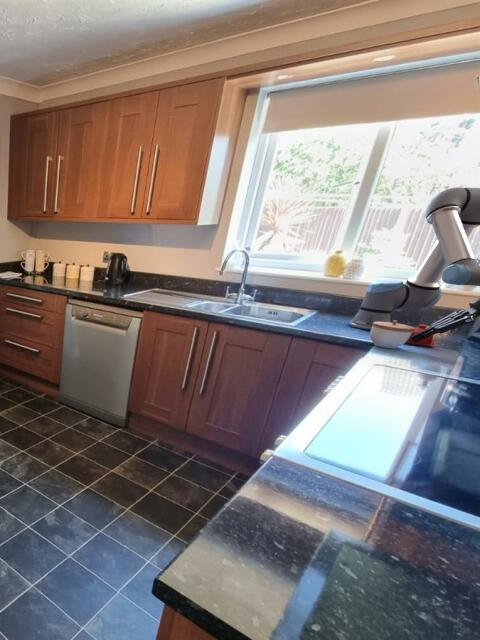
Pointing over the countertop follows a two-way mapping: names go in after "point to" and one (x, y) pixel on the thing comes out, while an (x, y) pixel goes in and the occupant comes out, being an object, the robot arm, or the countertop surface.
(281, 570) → the countertop surface
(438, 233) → the robot arm
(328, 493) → the countertop surface
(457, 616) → the countertop surface
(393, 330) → the lidded bowl
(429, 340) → the butter dish
